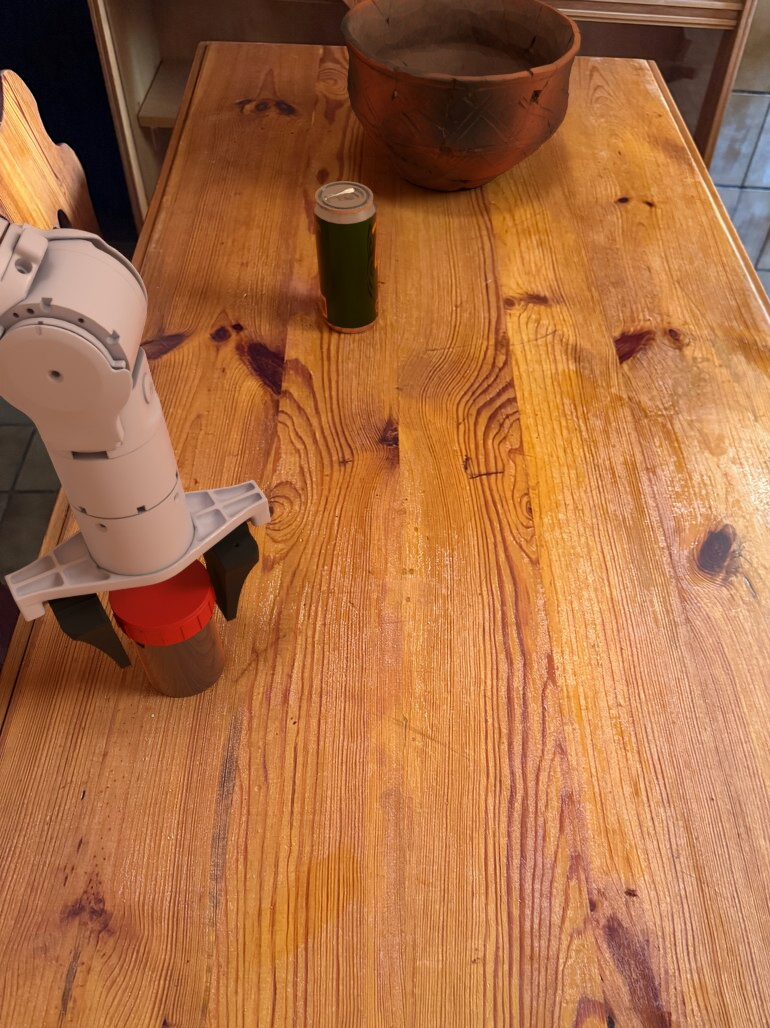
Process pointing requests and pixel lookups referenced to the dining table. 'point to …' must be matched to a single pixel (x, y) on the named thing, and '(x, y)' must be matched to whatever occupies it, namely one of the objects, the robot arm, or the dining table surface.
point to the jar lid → (166, 607)
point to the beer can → (347, 255)
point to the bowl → (458, 83)
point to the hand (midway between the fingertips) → (174, 632)
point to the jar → (184, 663)
